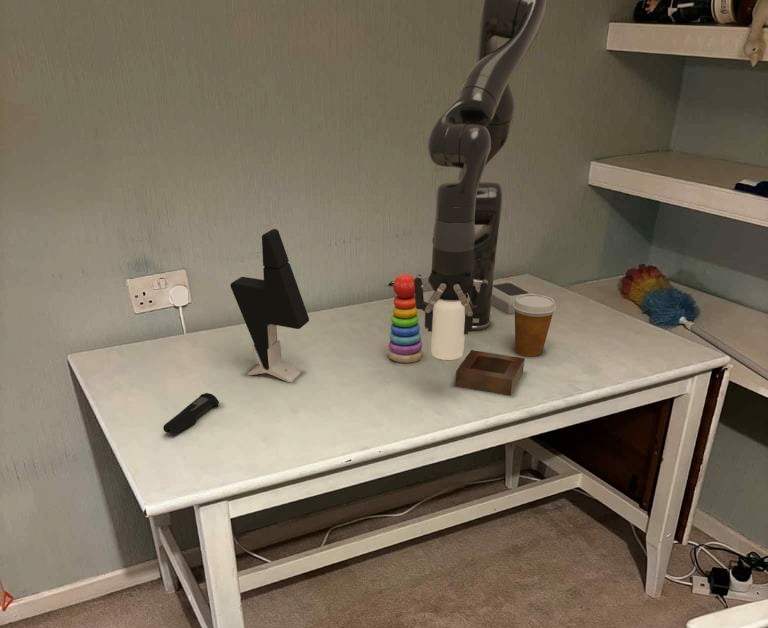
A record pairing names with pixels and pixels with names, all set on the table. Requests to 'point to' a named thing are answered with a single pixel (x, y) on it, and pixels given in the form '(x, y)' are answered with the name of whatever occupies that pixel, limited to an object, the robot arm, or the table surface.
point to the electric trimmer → (191, 413)
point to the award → (271, 307)
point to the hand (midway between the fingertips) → (448, 331)
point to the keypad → (506, 295)
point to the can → (448, 330)
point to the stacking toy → (405, 323)
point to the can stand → (490, 372)
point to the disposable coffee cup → (532, 323)
